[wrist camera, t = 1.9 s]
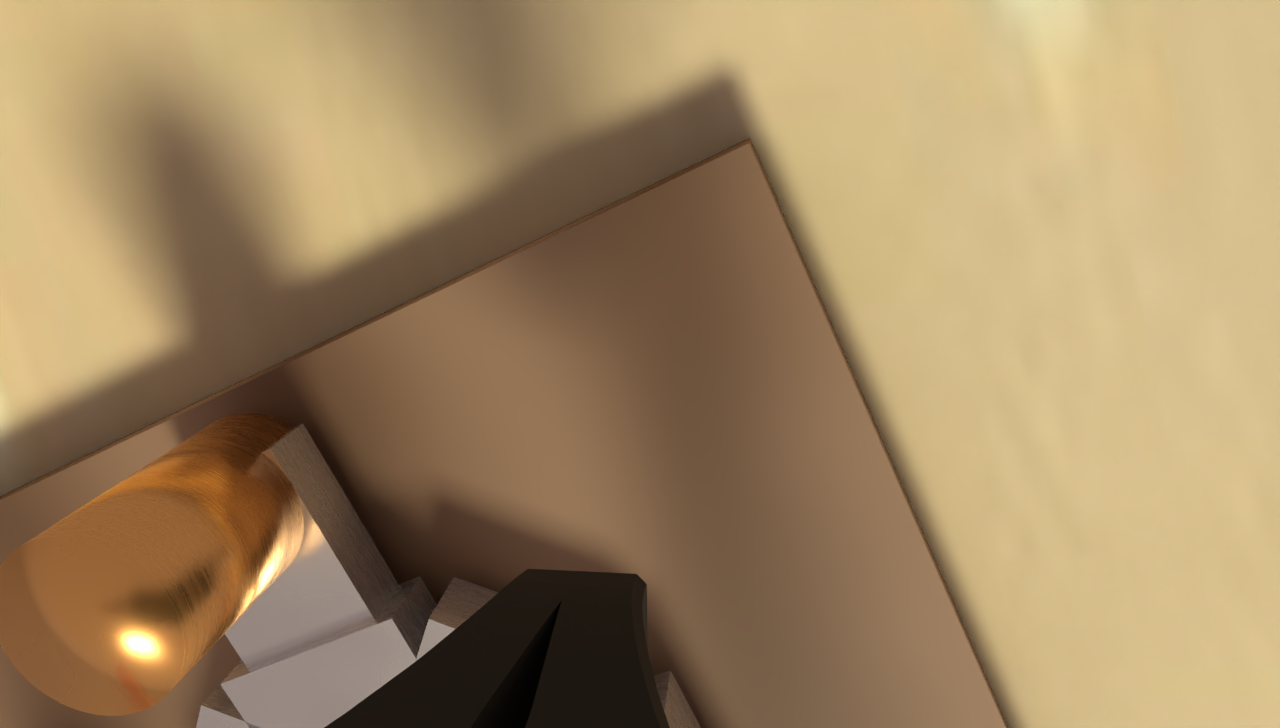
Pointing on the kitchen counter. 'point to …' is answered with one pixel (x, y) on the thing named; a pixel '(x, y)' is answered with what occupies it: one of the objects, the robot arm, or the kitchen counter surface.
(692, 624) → the peg base
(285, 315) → the kitchen counter surface
